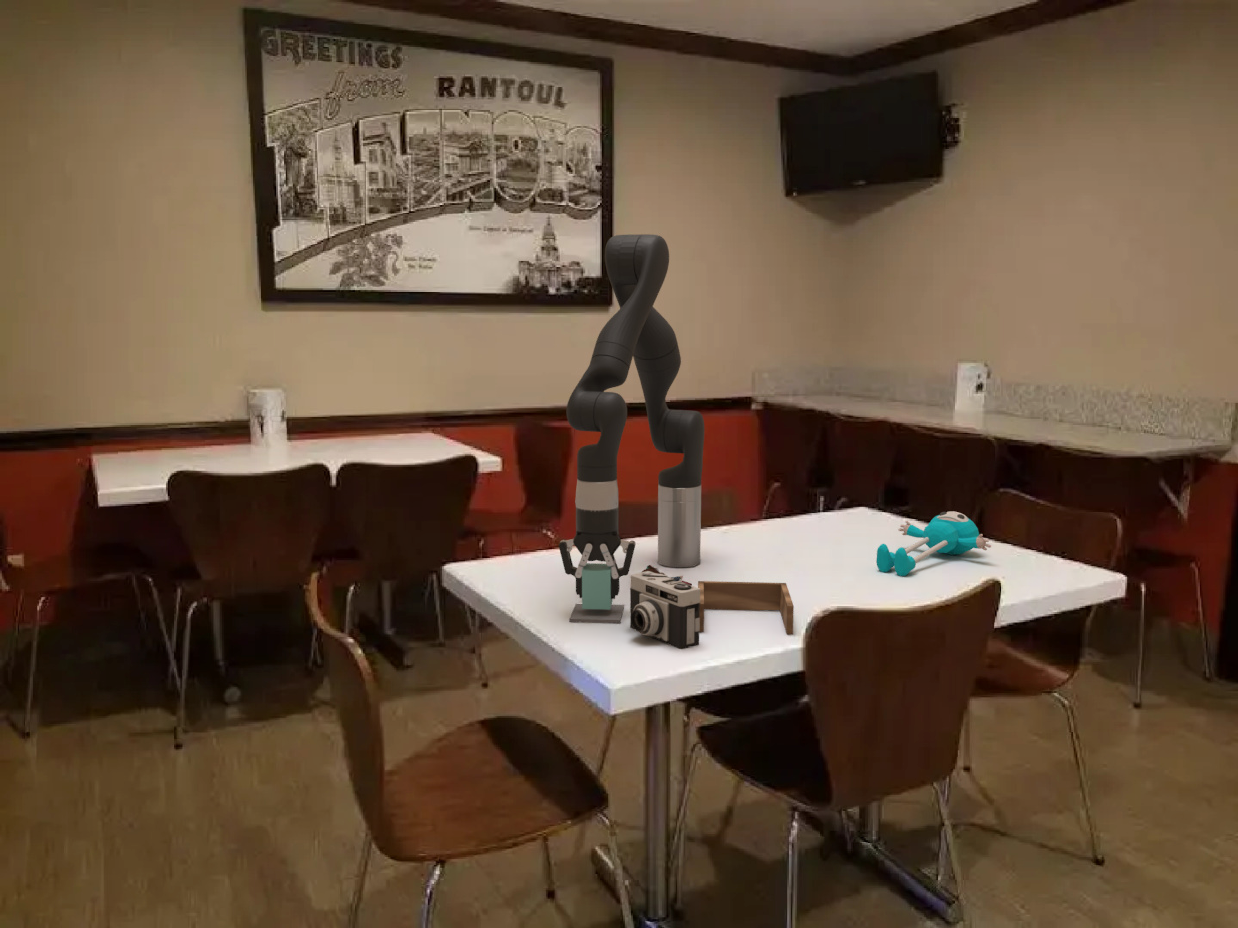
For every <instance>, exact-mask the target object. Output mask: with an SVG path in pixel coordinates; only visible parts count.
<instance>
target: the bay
mask: <svg viewBox="0 0 1238 928" xmlns="http://www.w3.org/2000/svg"><path fill="white" fill-rule="evenodd" d="M697 588H700V611H699V617H700V631H699V633H704V632H705V610H724V611H725V610H726V611H728V610H730V611H731V610H732V611H760V610H774V611H773V612H776V611H775V610H780V611H779V612H780V614H781V615H780V616H781V619H782V622H783V626H784V628H785V633H786V635H794V608H795V607H794V602H793V600H792V597H791V594H790V592H789V588H788V585H787V583H786V582H756V581H755V582H754V581H751V582H749V581H712V580H711V581H710V580H709V581H708V580H704V581H703V580H702V581H701V580H697Z"/></svg>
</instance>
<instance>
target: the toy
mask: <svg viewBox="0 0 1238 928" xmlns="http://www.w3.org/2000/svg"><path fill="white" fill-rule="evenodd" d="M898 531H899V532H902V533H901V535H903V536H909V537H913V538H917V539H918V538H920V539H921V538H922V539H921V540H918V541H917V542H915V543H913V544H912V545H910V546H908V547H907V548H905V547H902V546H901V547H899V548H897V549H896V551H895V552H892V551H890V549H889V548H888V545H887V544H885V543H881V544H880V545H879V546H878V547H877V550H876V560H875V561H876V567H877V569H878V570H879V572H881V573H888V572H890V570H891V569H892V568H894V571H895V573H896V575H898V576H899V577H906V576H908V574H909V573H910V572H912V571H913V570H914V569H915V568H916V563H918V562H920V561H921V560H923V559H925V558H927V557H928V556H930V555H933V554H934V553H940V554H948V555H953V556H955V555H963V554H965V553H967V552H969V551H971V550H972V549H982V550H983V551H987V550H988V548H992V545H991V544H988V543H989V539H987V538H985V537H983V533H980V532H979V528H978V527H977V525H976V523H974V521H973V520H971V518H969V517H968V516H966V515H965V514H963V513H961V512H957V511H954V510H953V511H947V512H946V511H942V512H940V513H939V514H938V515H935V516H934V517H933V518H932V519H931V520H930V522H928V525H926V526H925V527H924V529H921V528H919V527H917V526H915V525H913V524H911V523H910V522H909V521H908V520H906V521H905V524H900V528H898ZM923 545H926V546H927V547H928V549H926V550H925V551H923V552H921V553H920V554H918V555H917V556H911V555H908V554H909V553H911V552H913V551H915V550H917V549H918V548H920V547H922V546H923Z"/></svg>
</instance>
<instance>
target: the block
mask: <svg viewBox="0 0 1238 928" xmlns="http://www.w3.org/2000/svg"><path fill="white" fill-rule="evenodd" d="M611 578H612V576H611V569H609V568H608V566H607V564H606V563H595V562H594V563H593V562H591V563H590V562H589V563H588V562H587V564H586V566H585V568H583V569H582V598H581V604H582V609H606V610H610V609H611V605H613V603H614V601H613V600H614V599H611Z"/></svg>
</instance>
